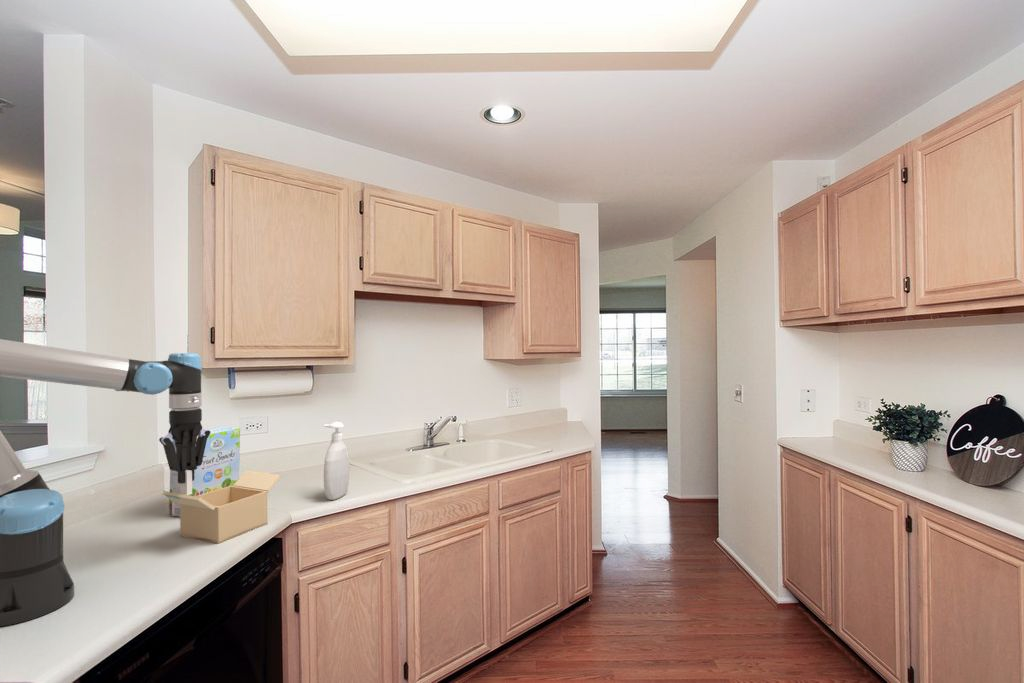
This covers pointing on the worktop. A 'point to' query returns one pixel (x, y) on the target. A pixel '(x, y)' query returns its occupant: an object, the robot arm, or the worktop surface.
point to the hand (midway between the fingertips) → (186, 493)
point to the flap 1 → (188, 500)
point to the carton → (225, 514)
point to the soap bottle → (336, 465)
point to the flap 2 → (257, 480)
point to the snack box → (212, 465)
